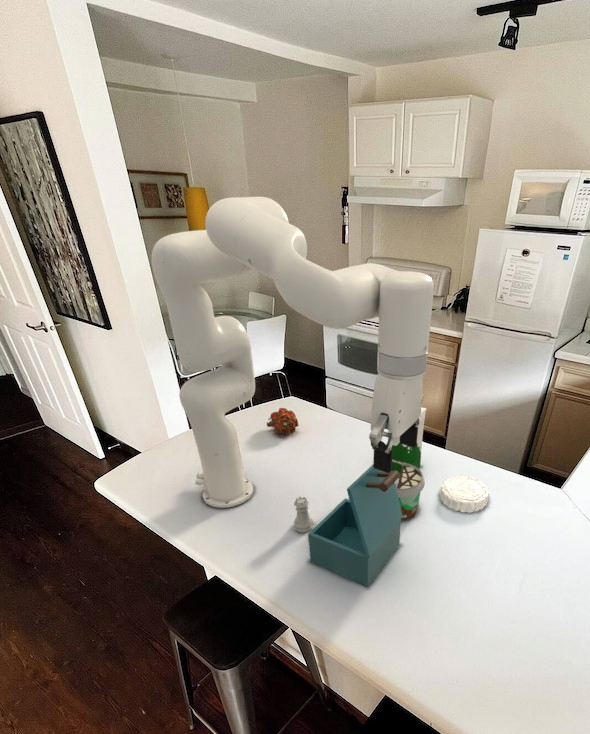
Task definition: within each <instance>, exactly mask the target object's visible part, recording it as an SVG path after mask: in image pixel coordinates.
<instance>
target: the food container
mask: <svg viewBox="0 0 590 734" xmlns="http://www.w3.org/2000/svg"><path fill="white" fill-rule="evenodd" d="M397 481H398V482H397V484H396V485H397V486H396V490H397V495H398V499H399V503H400V507H401V512H402V516H403V517H402V518H401V521H407V520H411V519H412V518H414V517H415V516H416V515H417V513H418V508H419V503H420V497H421V492H422V491H423V490H424V488H425V484H426V483H425V477H424V475H423V472H422V471H421V470H420V468H417V467H415V466H413V465H411V464H408V463H402V470H401V474H400V477H399V478H398V480H397Z"/></svg>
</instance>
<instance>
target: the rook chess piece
mask: <svg viewBox="0 0 590 734" xmlns="http://www.w3.org/2000/svg"><path fill="white" fill-rule="evenodd" d="M309 503H310V502H309V500H308V499H307V498H306V496H298V497H296V498H295V500H294V502H293V505H294V506H295V510H296V516H295V519H294V521H293V524H294V525H293V528H294V529H295V530H296V532H299V533H308V532H310V531H311V530H312V529H313V528H314V522H313V519H312V518H311V516H310V515H309V511H308V510H309V507H308V505H309Z"/></svg>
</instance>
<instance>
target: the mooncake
mask: <svg viewBox="0 0 590 734" xmlns="http://www.w3.org/2000/svg"><path fill="white" fill-rule="evenodd" d="M439 496H440V501H441V502H442V504H444V505H445V506H446V507H447V508H449V509H452V510H453V511H456V512H458V511H459V512H460V513H469V514H471V513H473V512H475V513H477V512H479V510H483V509H484V508H485V507H487V505H488V501H489V497H490V491H489V487H488V486H486V484H485V483H484V482H482V481H481V480H479V479H476V478H475V477H471V476H466V475H464V476H462V475H457V476H451V477H450V478H446V479H445V480H444V481H442V484H441V486H440V492H439Z"/></svg>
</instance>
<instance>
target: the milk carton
mask: <svg viewBox="0 0 590 734" xmlns="http://www.w3.org/2000/svg"><path fill="white" fill-rule="evenodd" d="M426 414H427V407H422V406H421V413H420V416H419V420H420V422H419V425H418V426H416V427H418V435H417V445H416V446H415V447H410V446H407V445H404V444H401V443H400V436H399V437H397V438H395V439H394V442H393V445H392V448H391V450H390V451H393V456H392V471H393V470H396V471H398V472H399V473H400V474H401V470H402V463H408V464H411V465H413V466H415V467H417V468H418V469H420V467H421V460H422V448H423V438H424V437H423V435H424V424H425V419H426ZM387 433H392V432H390V430H388V429H387ZM388 439H389V438H388V437H387V440H388Z"/></svg>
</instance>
